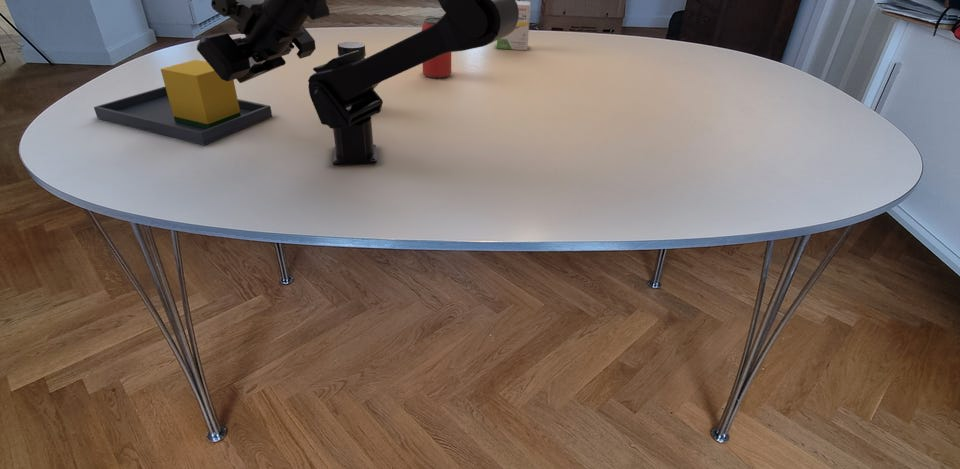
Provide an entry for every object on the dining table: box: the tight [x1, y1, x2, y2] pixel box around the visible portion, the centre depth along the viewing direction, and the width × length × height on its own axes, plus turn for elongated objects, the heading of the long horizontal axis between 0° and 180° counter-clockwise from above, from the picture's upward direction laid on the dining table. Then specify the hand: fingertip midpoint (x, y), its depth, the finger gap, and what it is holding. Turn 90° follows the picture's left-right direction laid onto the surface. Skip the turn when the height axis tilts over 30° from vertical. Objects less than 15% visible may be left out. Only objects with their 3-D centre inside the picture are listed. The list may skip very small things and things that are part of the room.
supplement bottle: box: [337, 41, 367, 108], centre depth 99 cm, size 7×7×12 cm
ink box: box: [496, 0, 532, 51], centre depth 147 cm, size 8×5×12 cm, turn 84°
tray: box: [93, 86, 273, 146], centre depth 96 cm, size 25×15×2 cm, turn 66°
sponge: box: [160, 59, 241, 129], centre depth 92 cm, size 8×7×9 cm
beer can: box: [421, 17, 452, 79], centre depth 122 cm, size 7×7×12 cm
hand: (239, 80), depth 87 cm, fingers closed
